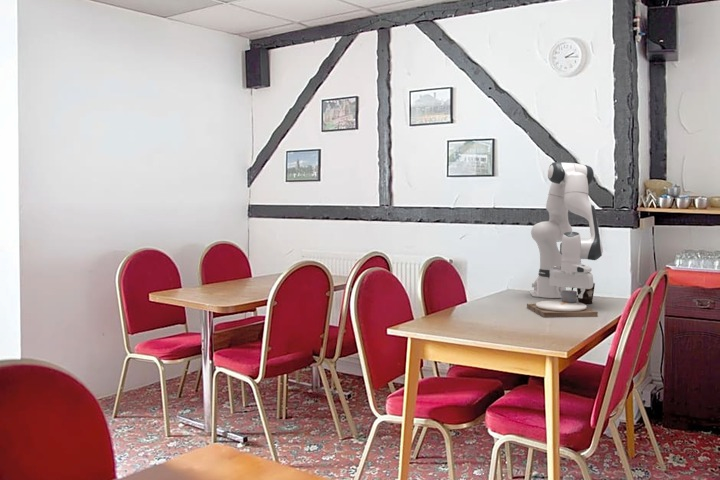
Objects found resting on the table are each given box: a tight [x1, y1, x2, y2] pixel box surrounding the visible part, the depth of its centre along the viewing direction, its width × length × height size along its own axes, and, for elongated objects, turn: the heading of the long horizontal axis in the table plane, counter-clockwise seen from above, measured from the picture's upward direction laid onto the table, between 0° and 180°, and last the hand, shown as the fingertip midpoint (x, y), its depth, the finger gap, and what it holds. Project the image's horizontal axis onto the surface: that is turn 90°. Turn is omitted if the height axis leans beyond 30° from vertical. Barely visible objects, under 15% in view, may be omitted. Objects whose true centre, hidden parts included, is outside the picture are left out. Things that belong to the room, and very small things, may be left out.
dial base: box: [526, 302, 599, 318], centre depth 320 cm, size 24×24×2 cm
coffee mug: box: [571, 282, 596, 305], centre depth 344 cm, size 12×9×10 cm
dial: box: [535, 289, 588, 311], centre depth 320 cm, size 23×22×6 cm
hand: (570, 297), depth 326 cm, fingers open, 8 cm apart
